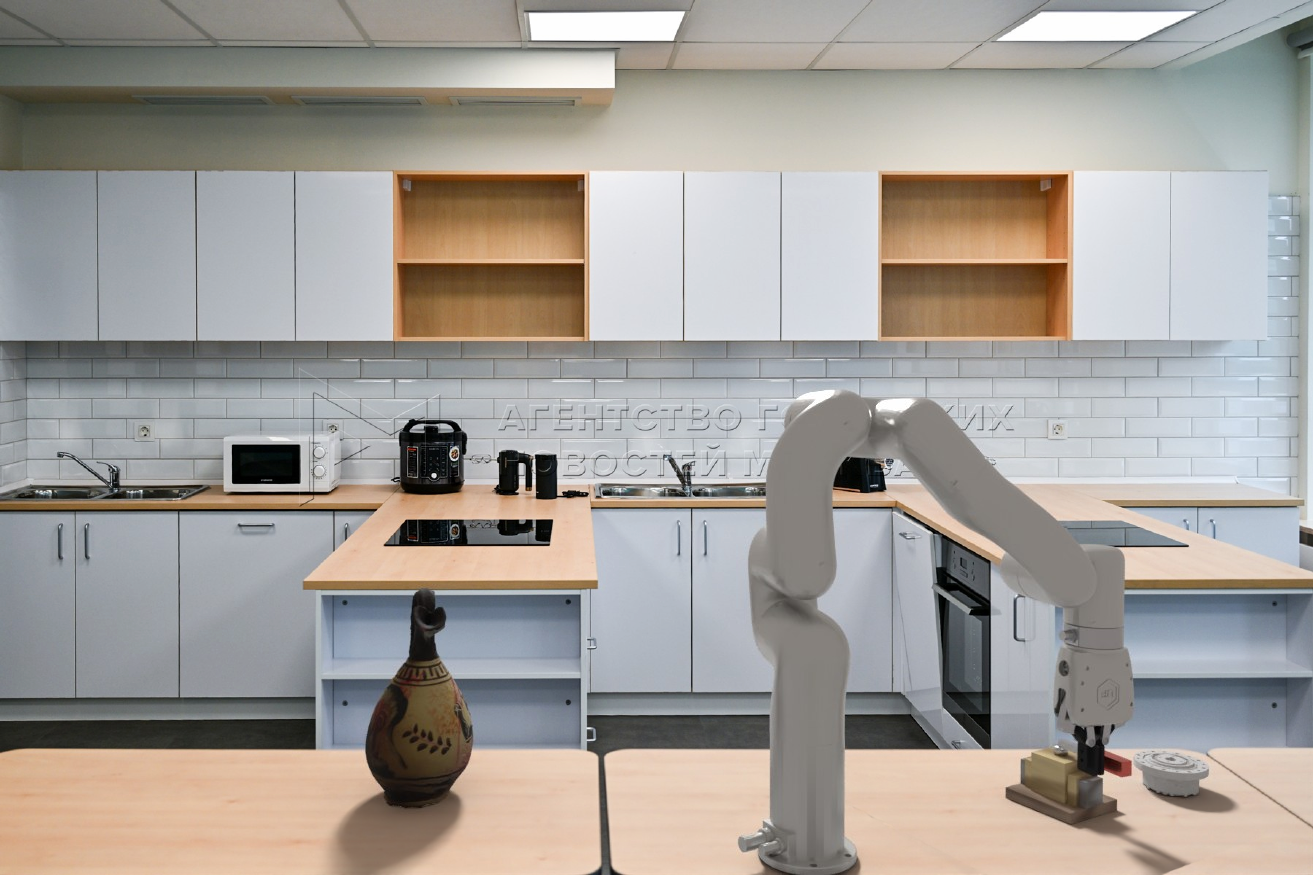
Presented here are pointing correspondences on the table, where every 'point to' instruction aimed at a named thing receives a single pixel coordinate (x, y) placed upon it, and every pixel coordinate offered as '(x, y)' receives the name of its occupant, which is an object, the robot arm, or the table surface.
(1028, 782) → the valve block
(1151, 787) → the mechanical component
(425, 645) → the ceramic jug
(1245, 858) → the table surface
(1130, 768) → the valve lever
